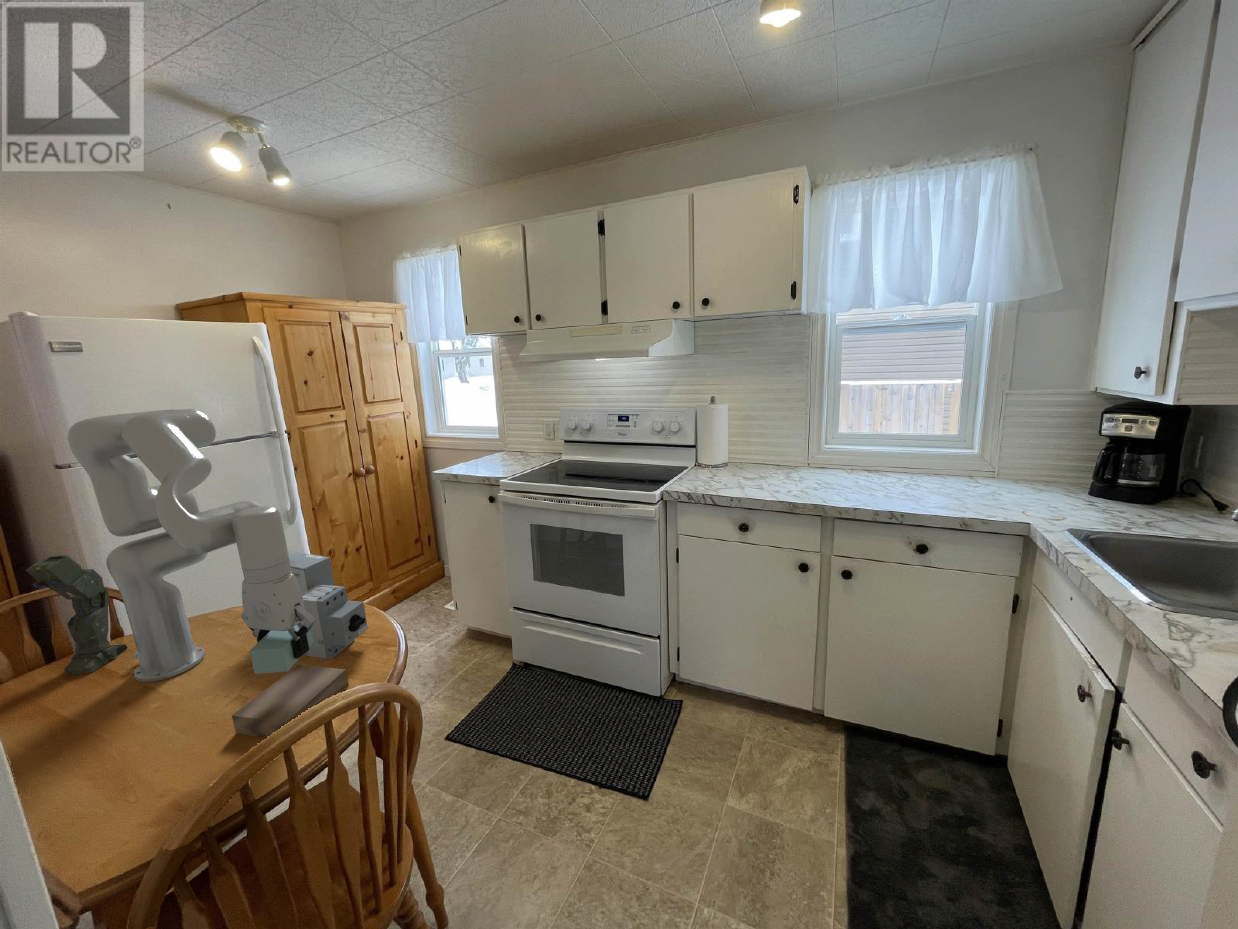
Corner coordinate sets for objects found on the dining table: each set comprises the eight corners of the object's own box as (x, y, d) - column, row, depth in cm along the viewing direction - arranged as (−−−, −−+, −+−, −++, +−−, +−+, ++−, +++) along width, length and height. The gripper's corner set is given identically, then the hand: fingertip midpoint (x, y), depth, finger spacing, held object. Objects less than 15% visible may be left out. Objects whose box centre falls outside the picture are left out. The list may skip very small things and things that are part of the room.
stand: (235, 733, 97) (231, 715, 96) (301, 680, 112) (298, 664, 112) (289, 740, 95) (285, 722, 94) (348, 685, 110) (345, 669, 109)
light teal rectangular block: (288, 671, 96) (283, 647, 95) (254, 674, 96) (249, 650, 95) (313, 641, 106) (309, 620, 105) (283, 644, 105) (279, 622, 104)
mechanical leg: (114, 638, 130) (54, 543, 117) (144, 636, 131) (88, 541, 117) (67, 682, 118) (-6, 582, 105) (100, 680, 119) (32, 580, 105)
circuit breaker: (355, 661, 119) (345, 603, 116) (303, 655, 122) (292, 599, 118) (375, 643, 126) (367, 588, 123) (326, 638, 129) (316, 584, 126)
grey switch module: (343, 627, 134) (331, 557, 130) (317, 642, 127) (303, 569, 123) (303, 617, 140) (290, 550, 135) (276, 631, 133) (261, 561, 128)
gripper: (211, 577, 95) (231, 660, 99) (290, 581, 91) (307, 668, 95) (247, 560, 102) (264, 639, 106) (321, 564, 99) (336, 645, 103)
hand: (285, 652), depth 101 cm, fingers closed on light teal rectangular block, 7 cm apart
